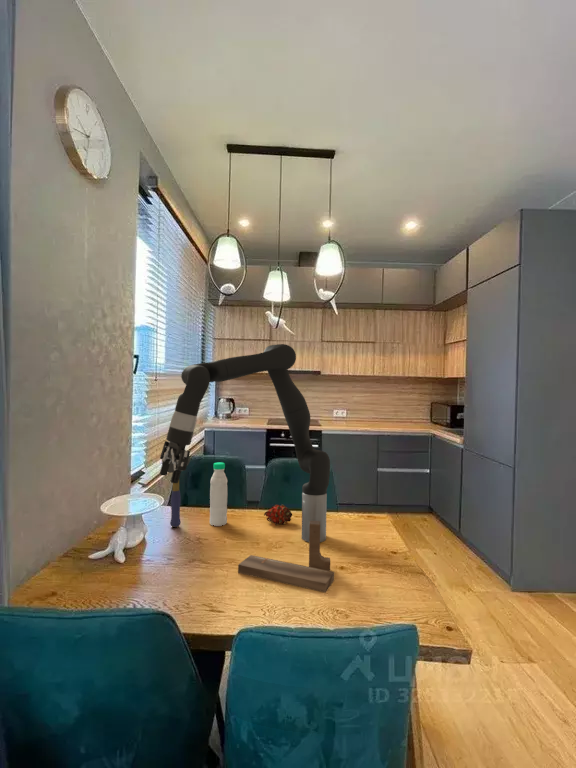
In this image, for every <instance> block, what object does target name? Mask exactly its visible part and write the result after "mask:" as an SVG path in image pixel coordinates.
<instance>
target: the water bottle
mask: <svg viewBox="0 0 576 768" xmlns="http://www.w3.org/2000/svg"><path fill="white" fill-rule="evenodd" d="M212 465H213V474H212V476H211V478H210V488H209V499H210V500H209V504H210V505H209V506H210V507H209V524H210V525H211V526H213V525H214V526H213V527H221V526H222V525H223V526H225V525H226V524H227V522H228V515H227V514H228V506H227V505H228V477H227V476H226V473H225V468H226V463H225V462H223V461H221V462H219V461H218V462H214V463H213V464H212ZM223 526H222V527H223Z"/></svg>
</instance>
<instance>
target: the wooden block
mask: <svg viewBox="0 0 576 768" xmlns="http://www.w3.org/2000/svg"><path fill="white" fill-rule="evenodd" d="M308 543H309V545H308V567H313V568H317V569H322V570H327V571H331V557H325V556H324V555H322V554H321V542H320V521H310V527H309V542H308Z"/></svg>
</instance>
